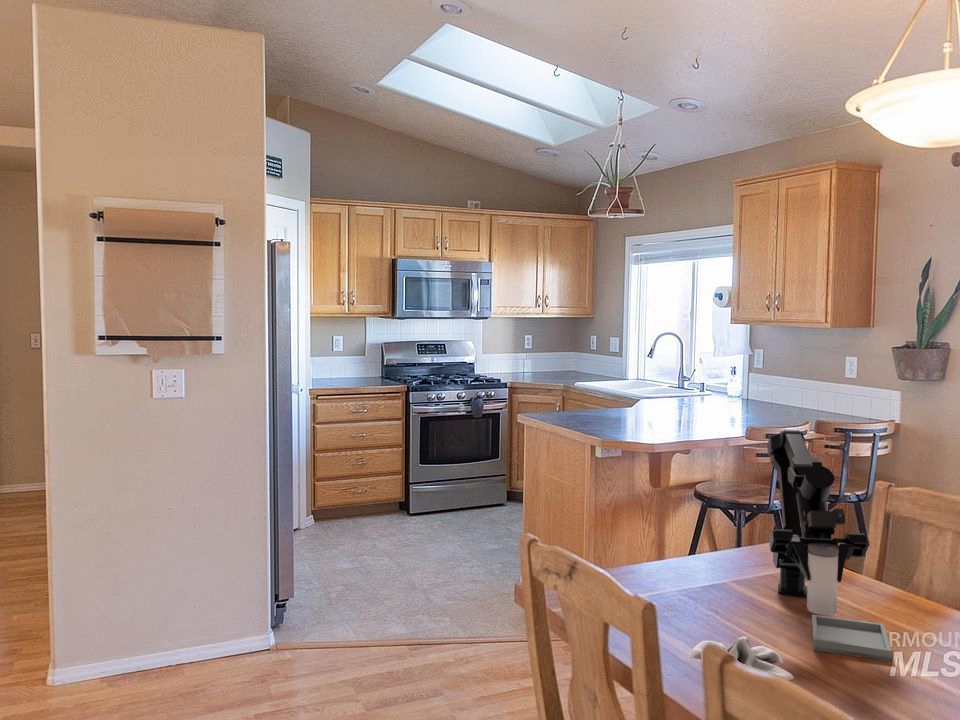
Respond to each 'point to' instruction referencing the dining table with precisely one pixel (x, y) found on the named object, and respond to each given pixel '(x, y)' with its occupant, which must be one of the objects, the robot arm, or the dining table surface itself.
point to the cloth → (748, 655)
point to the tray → (851, 637)
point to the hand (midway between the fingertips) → (824, 580)
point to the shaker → (822, 578)
